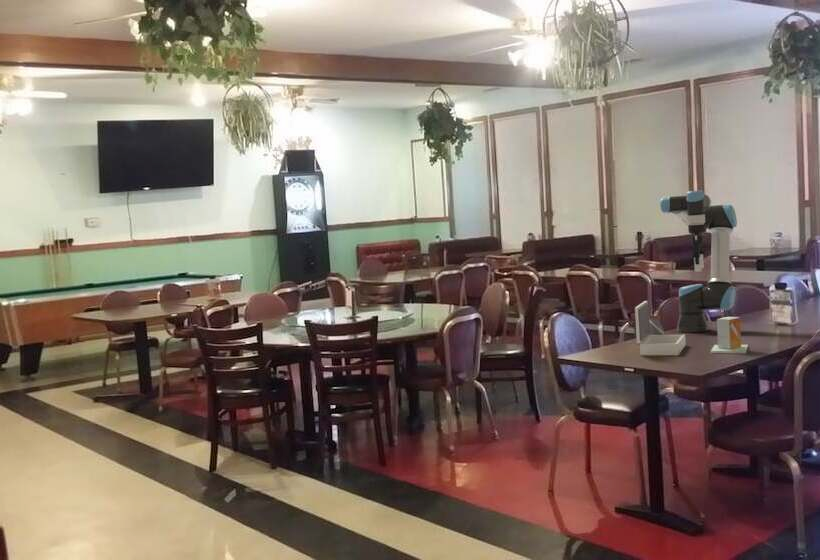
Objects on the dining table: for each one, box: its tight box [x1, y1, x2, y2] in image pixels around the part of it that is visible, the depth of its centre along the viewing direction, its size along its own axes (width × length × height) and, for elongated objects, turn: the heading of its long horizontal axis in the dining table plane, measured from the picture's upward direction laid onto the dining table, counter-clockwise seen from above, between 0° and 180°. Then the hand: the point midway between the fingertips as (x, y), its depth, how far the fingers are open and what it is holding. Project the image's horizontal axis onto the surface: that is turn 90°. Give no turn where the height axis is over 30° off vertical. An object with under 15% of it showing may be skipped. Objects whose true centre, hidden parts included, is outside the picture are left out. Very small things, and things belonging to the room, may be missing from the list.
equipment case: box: [634, 300, 686, 356], centre depth 373 cm, size 26×17×21 cm, turn 154°
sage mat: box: [710, 344, 749, 354], centre depth 361 cm, size 16×14×1 cm
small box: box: [716, 316, 742, 349], centre depth 361 cm, size 8×6×13 cm
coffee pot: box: [649, 308, 667, 335], centre depth 396 cm, size 21×12×15 cm, turn 147°
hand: (699, 269), depth 383 cm, fingers open, 13 cm apart
